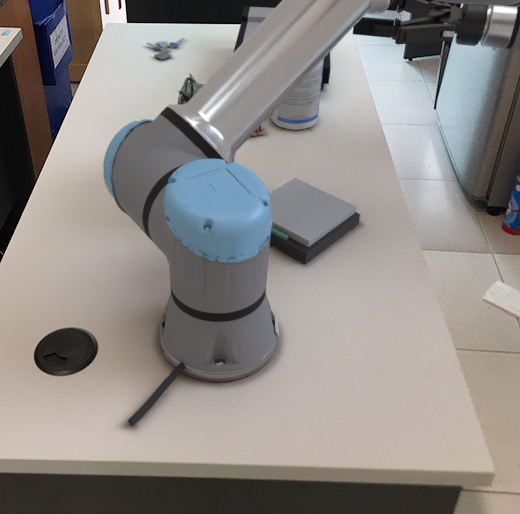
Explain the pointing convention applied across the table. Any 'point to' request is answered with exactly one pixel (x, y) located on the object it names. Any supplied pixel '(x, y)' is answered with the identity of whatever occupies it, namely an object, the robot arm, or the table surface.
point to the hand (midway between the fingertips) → (357, 11)
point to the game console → (254, 18)
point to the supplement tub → (301, 103)
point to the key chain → (164, 45)
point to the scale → (308, 219)
